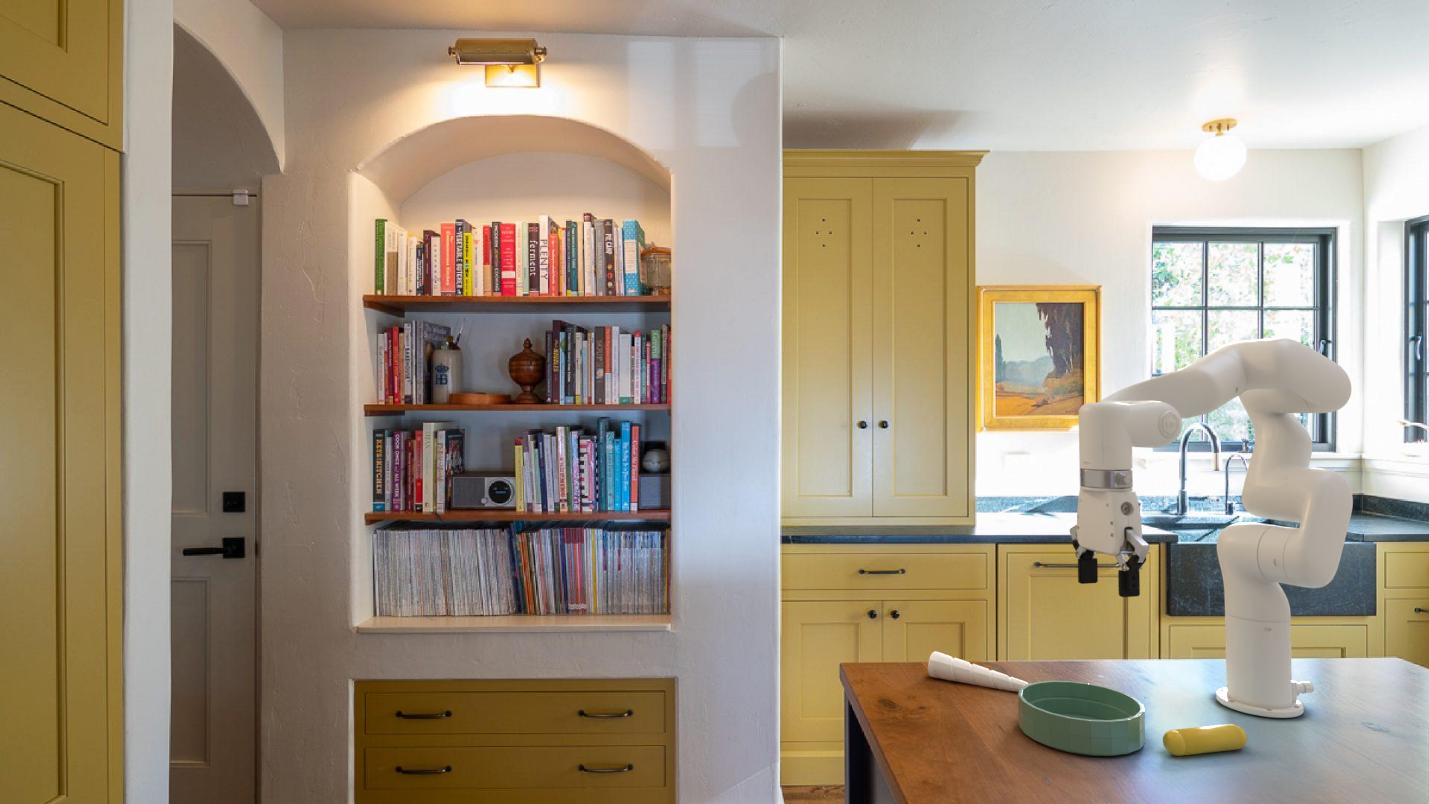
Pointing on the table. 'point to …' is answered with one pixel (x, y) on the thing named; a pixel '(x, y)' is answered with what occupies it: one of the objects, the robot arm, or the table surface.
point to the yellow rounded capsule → (1204, 739)
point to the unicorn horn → (970, 673)
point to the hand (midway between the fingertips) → (1107, 589)
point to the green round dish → (1081, 718)
